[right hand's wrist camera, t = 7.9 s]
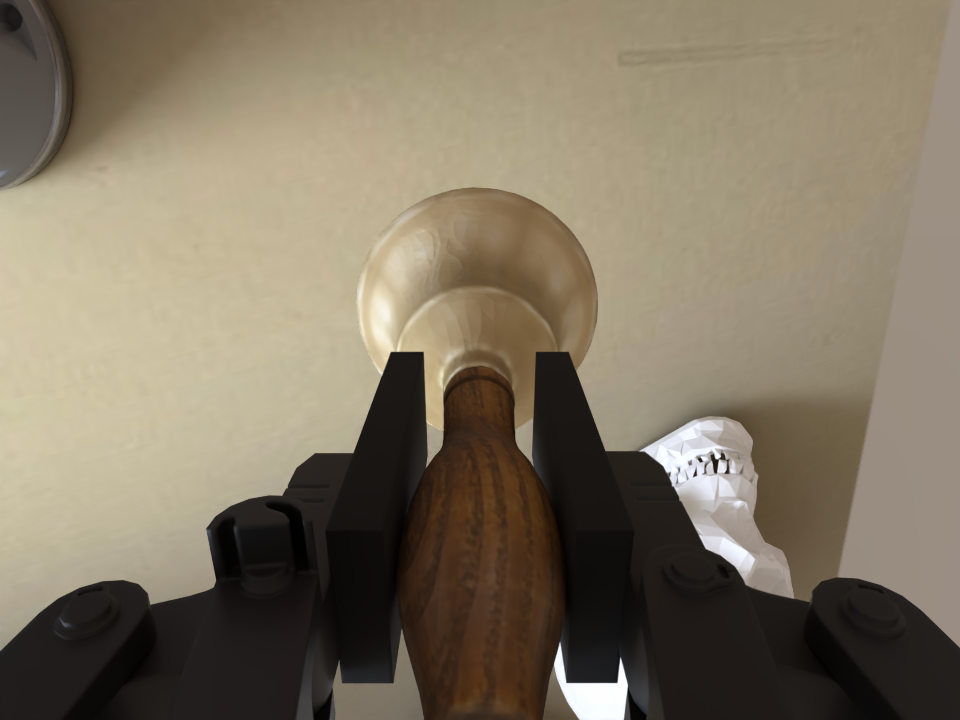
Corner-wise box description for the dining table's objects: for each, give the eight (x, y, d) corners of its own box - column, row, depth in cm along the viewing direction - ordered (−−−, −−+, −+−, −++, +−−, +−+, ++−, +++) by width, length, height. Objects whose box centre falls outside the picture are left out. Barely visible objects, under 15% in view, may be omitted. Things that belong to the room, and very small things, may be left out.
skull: (799, 430, 45) (942, 581, 30) (670, 649, 53) (733, 854, 38) (628, 373, 44) (689, 500, 29) (521, 604, 52) (527, 798, 37)
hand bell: (606, 187, 20) (945, 401, 5) (589, 417, 23) (773, 962, 8) (348, 187, 20) (-31, 398, 5) (365, 417, 23) (156, 956, 8)
